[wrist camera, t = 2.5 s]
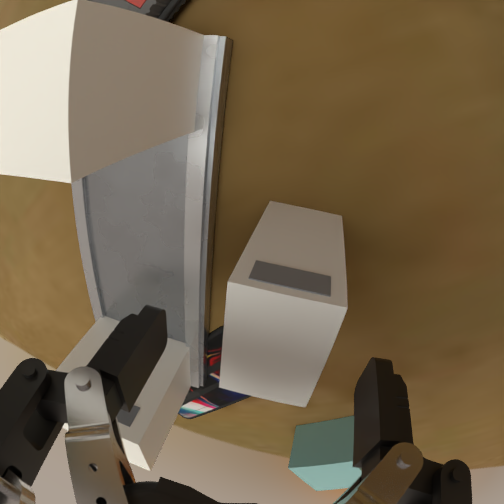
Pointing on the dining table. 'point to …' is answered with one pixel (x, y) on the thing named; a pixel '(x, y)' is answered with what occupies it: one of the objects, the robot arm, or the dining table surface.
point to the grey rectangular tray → (160, 221)
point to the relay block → (325, 454)
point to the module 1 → (92, 88)
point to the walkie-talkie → (148, 7)
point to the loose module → (284, 305)
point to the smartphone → (210, 384)
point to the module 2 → (142, 394)
